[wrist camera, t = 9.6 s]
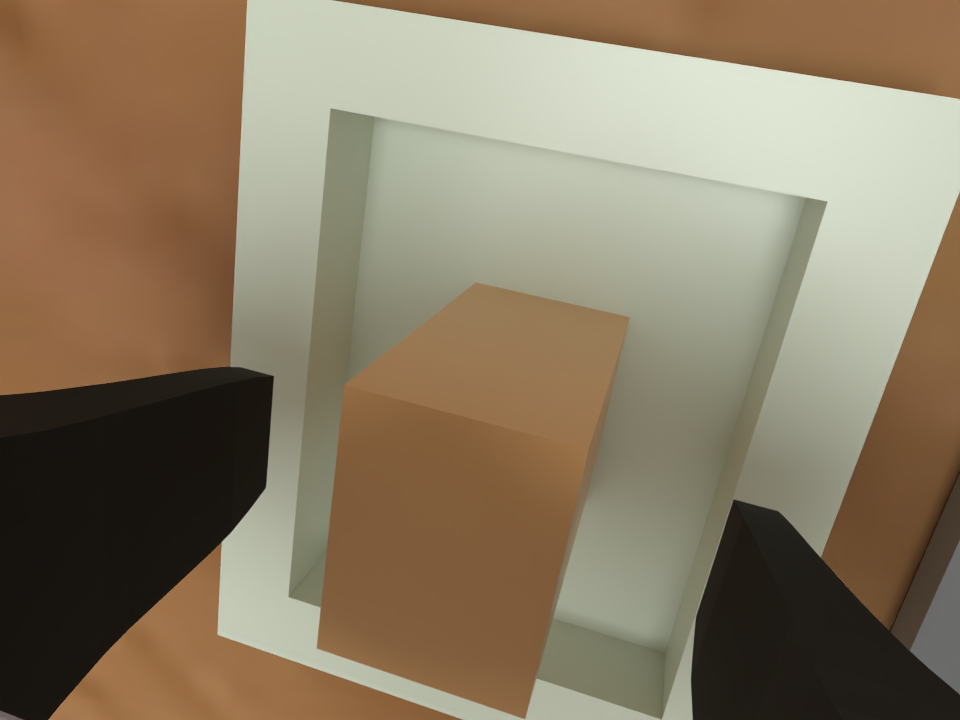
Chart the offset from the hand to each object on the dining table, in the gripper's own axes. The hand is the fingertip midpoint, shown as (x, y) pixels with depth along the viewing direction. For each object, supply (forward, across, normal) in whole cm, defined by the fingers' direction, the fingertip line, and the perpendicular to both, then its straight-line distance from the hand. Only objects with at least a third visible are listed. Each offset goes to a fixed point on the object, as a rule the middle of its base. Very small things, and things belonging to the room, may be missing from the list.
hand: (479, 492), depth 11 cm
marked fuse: (+4, 0, 0) cm, 4 cm away
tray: (+5, 0, 0) cm, 5 cm away
